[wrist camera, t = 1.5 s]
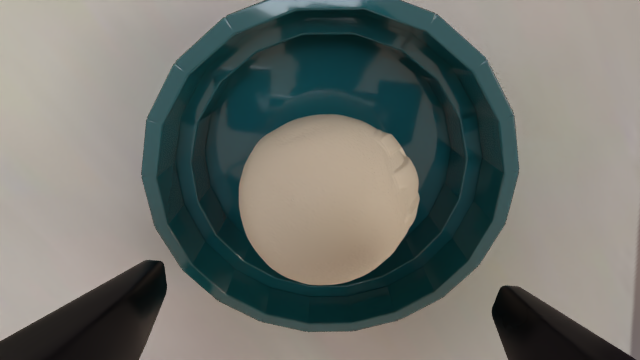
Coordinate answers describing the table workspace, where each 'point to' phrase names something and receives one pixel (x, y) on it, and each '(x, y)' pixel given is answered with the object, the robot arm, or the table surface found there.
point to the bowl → (342, 99)
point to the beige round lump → (327, 198)
